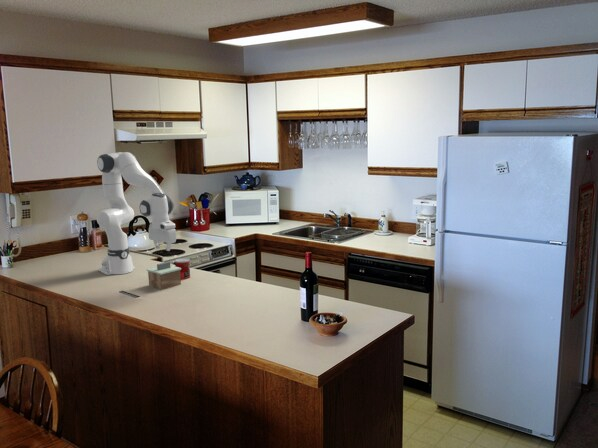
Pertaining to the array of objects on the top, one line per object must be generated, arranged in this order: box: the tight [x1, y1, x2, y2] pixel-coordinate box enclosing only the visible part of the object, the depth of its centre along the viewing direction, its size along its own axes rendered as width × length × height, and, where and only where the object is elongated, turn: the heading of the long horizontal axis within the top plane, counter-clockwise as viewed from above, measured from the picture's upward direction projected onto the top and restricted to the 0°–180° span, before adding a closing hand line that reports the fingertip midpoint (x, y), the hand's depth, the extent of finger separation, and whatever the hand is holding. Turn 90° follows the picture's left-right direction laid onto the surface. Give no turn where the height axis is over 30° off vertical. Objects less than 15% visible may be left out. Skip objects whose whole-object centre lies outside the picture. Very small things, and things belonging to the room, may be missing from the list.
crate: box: [147, 270, 182, 290], centre depth 294 cm, size 12×12×9 cm
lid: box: [146, 261, 181, 275], centre depth 293 cm, size 13×13×5 cm
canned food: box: [174, 258, 191, 280], centre depth 308 cm, size 8×8×11 cm
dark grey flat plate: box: [118, 290, 141, 298], centre depth 288 cm, size 16×16×1 cm
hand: (162, 249), depth 292 cm, fingers open, 8 cm apart
